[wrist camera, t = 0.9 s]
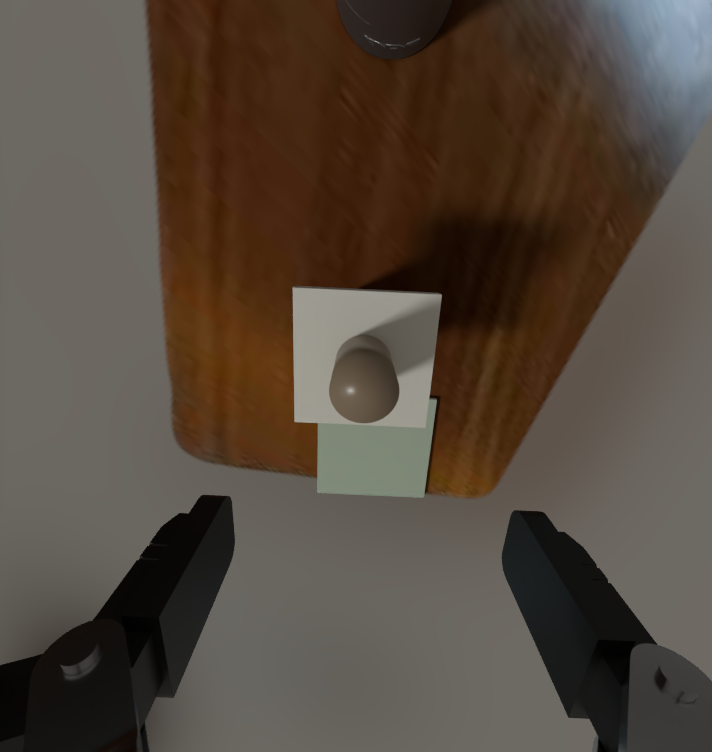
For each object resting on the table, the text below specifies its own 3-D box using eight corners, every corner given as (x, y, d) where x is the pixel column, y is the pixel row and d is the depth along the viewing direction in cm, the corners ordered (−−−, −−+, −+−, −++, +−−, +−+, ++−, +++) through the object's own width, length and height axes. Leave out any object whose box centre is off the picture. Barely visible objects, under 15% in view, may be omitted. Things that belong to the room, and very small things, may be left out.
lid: (295, 285, 25) (273, 298, 18) (438, 292, 25) (465, 307, 18) (297, 415, 28) (278, 463, 22) (423, 420, 28) (441, 470, 22)
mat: (319, 392, 39) (318, 393, 39) (436, 397, 39) (437, 399, 39) (317, 490, 44) (317, 492, 43) (423, 495, 44) (423, 497, 43)
